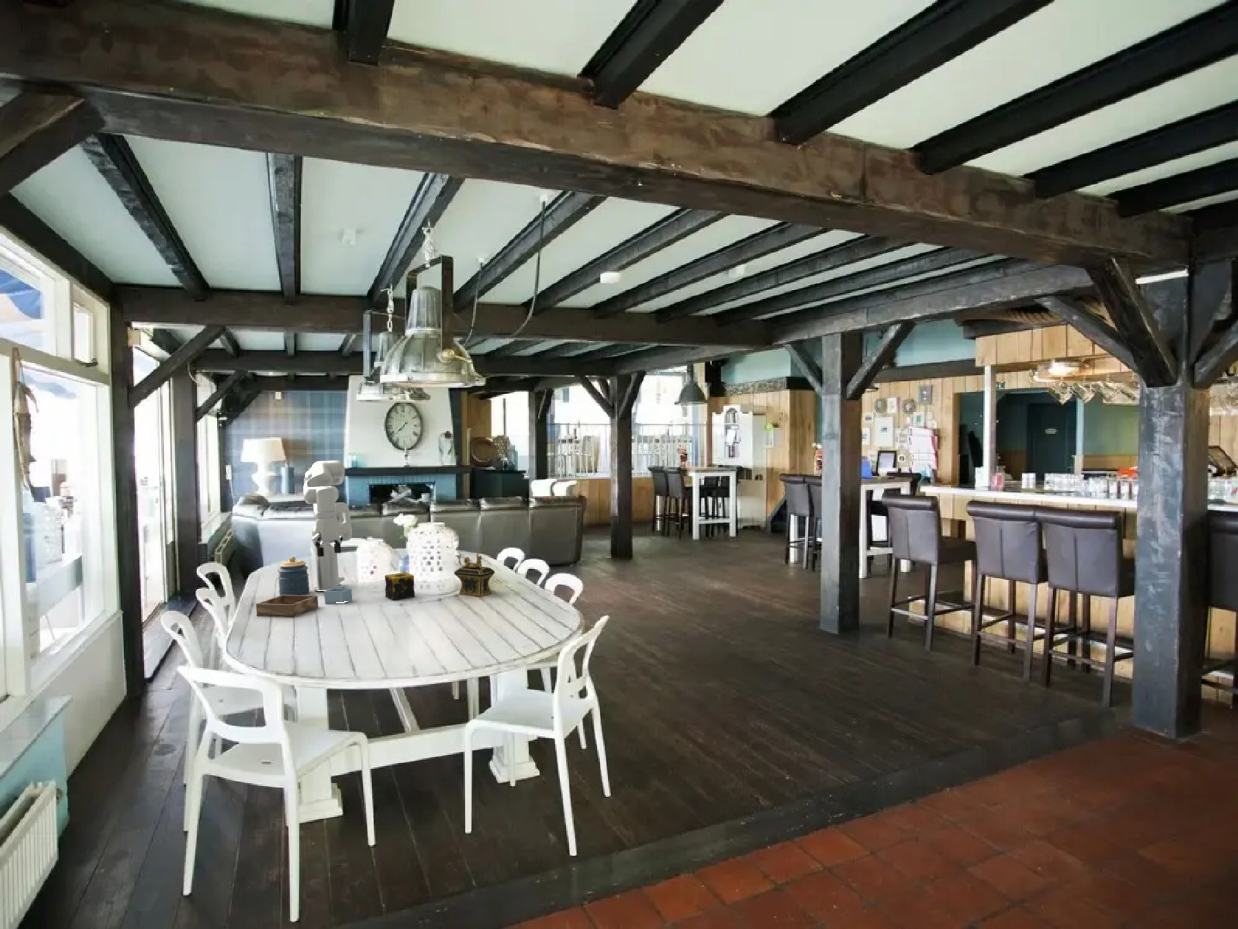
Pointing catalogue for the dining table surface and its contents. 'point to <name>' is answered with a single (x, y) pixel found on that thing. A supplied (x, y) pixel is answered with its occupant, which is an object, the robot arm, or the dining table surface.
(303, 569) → the canister
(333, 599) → the blue crate
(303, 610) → the walnut crate
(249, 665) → the dining table surface
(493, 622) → the dining table surface
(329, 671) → the dining table surface
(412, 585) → the black gold cube box
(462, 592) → the decorative box
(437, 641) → the dining table surface
